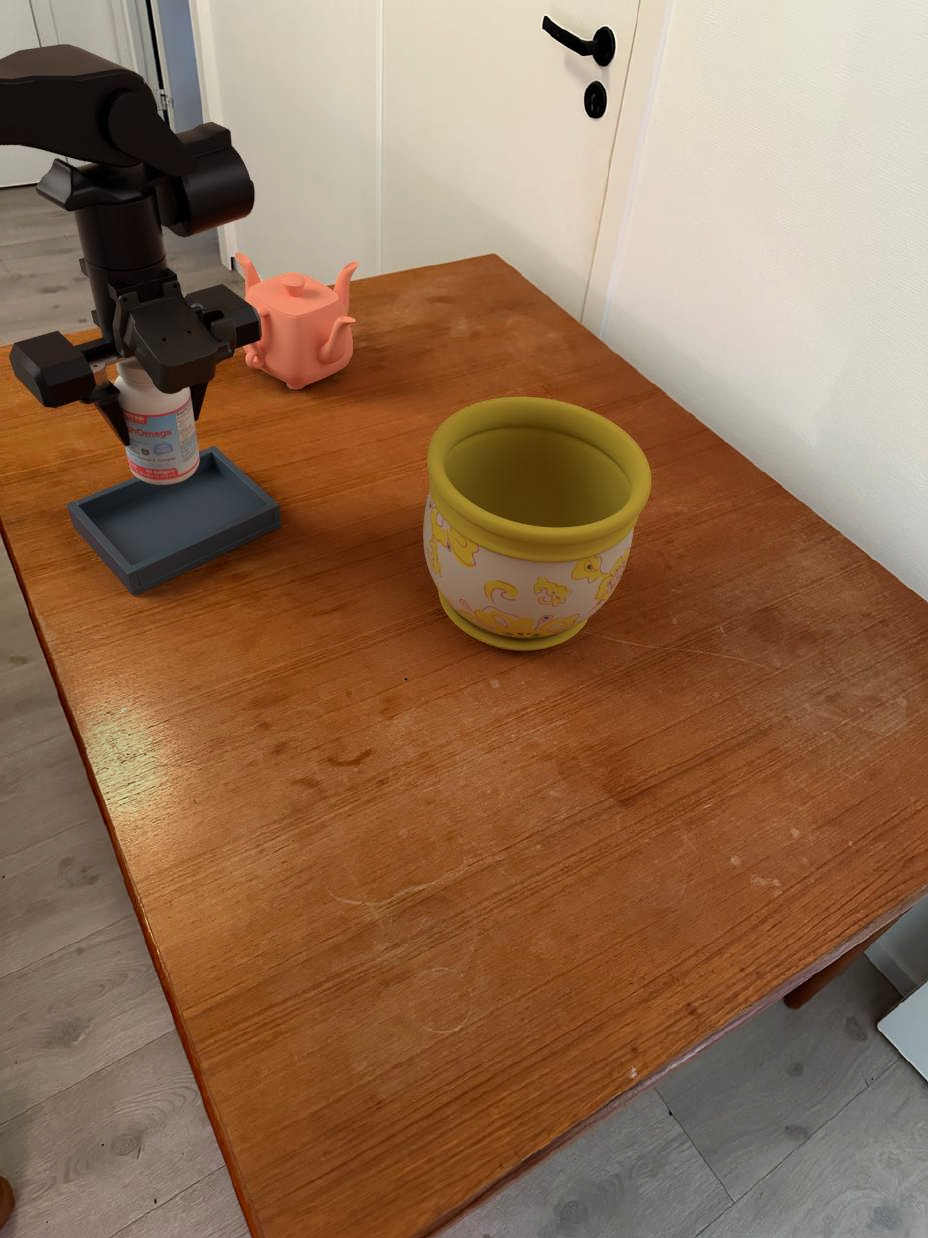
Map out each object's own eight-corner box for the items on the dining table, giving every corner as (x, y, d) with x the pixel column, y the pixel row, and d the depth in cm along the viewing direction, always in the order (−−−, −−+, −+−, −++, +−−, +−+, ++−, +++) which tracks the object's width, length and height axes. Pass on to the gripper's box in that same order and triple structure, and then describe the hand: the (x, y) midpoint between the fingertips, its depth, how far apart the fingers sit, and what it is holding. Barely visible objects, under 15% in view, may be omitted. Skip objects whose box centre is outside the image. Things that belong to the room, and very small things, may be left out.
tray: (133, 596, 77) (127, 574, 75) (73, 526, 82) (65, 504, 80) (281, 527, 85) (279, 505, 83) (217, 467, 90) (214, 445, 88)
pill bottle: (117, 478, 76) (89, 365, 68) (151, 439, 80) (128, 327, 72) (182, 494, 75) (161, 382, 67) (212, 454, 79) (196, 343, 71)
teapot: (243, 333, 108) (234, 246, 100) (358, 339, 110) (359, 254, 102) (229, 398, 98) (218, 307, 90) (355, 404, 100) (355, 315, 92)
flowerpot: (418, 531, 86) (427, 388, 74) (596, 540, 88) (633, 401, 76) (415, 672, 74) (426, 528, 62) (622, 680, 75) (672, 541, 63)
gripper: (49, 336, 55) (101, 523, 66) (295, 266, 64) (304, 440, 76) (-23, 266, 60) (37, 451, 72) (215, 211, 70) (234, 381, 81)
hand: (159, 431), depth 75 cm, fingers closed on pill bottle, 6 cm apart
